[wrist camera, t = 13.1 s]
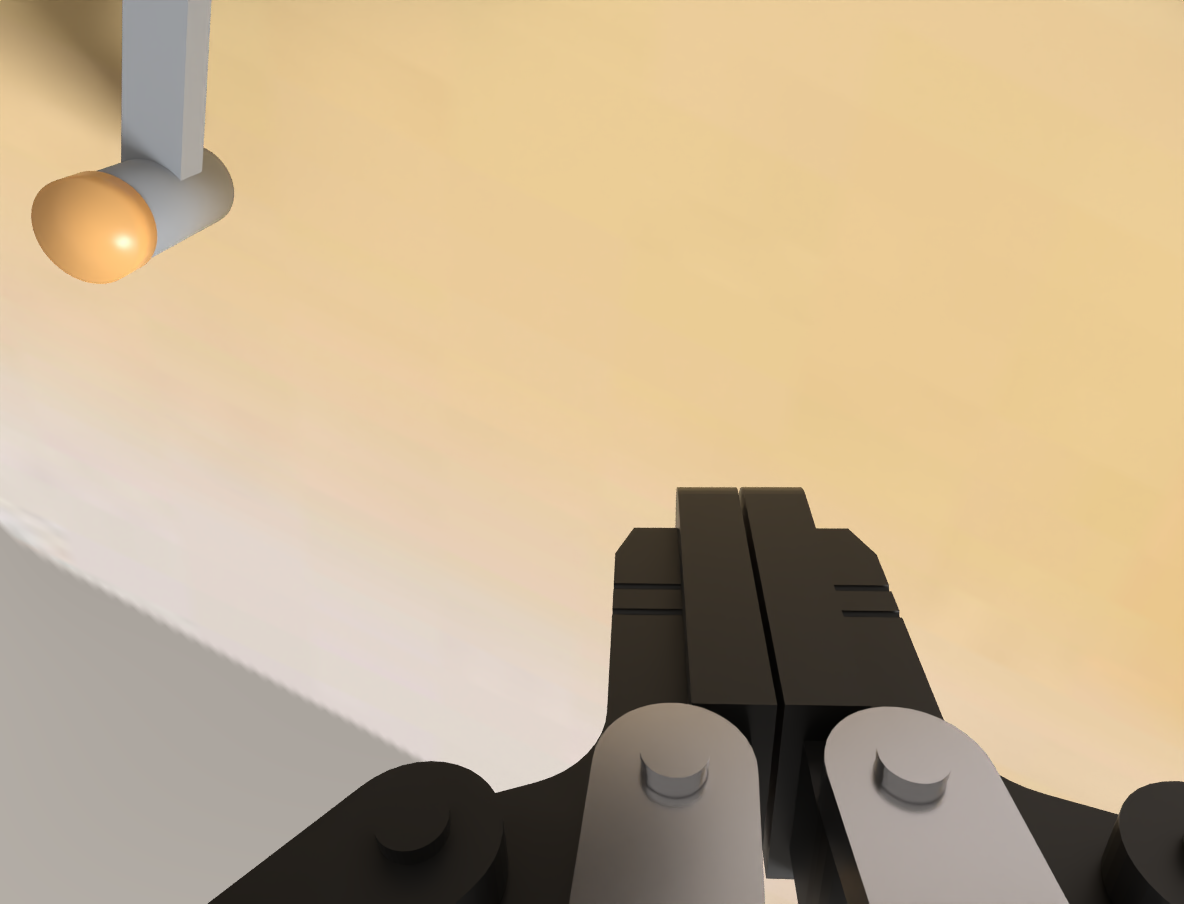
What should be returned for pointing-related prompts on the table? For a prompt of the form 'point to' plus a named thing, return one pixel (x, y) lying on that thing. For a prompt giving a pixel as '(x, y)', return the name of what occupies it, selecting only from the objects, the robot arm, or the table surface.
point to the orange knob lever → (143, 155)
